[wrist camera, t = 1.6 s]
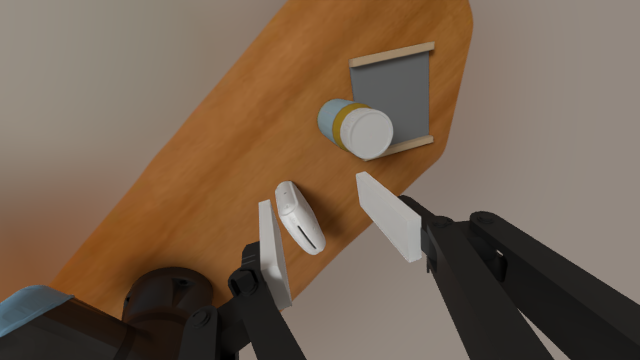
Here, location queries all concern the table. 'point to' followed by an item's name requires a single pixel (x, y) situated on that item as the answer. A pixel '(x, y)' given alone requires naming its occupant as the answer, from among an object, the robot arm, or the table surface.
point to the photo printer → (299, 218)
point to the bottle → (355, 127)
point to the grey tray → (396, 92)
